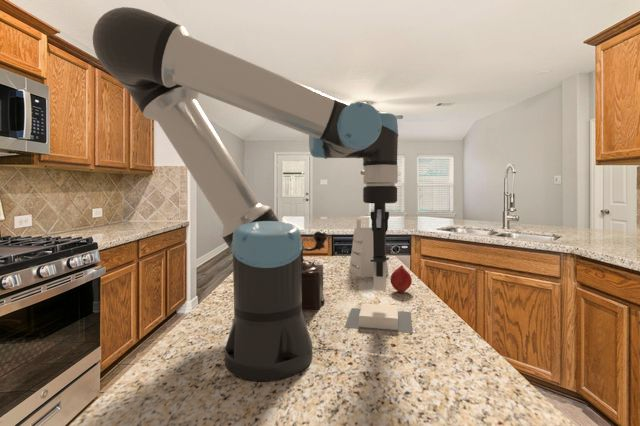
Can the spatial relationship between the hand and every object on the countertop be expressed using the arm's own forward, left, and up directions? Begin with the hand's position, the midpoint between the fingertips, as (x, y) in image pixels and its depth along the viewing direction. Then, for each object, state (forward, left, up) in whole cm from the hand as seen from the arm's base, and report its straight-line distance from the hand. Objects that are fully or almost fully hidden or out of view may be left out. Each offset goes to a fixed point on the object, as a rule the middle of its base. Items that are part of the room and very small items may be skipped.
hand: (379, 289), depth 77 cm
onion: (+21, -5, -7) cm, 22 cm away
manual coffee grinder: (+9, +20, -7) cm, 23 cm away
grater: (+43, +6, -7) cm, 43 cm away
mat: (-1, 0, -7) cm, 7 cm away
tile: (+1, 0, -5) cm, 5 cm away
